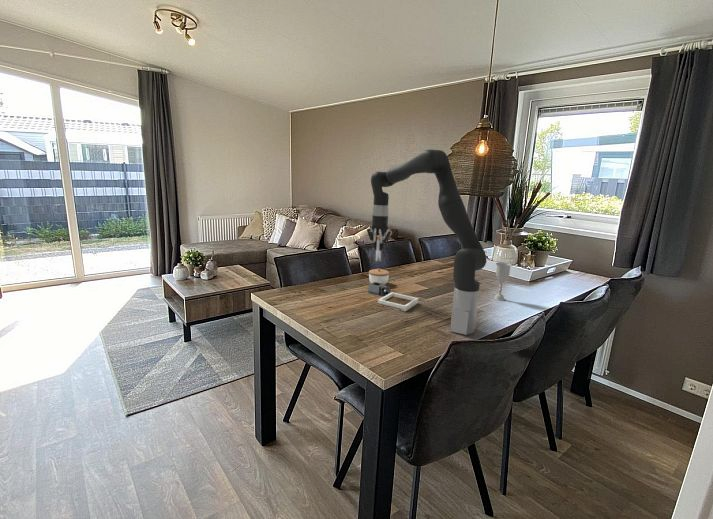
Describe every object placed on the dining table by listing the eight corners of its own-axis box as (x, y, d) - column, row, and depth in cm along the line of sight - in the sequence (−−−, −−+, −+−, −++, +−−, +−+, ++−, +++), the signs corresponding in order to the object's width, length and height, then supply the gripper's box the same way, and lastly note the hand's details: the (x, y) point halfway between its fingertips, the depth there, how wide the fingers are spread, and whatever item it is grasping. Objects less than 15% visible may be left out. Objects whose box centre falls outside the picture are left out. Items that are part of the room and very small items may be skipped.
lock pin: (379, 261, 184) (380, 235, 181) (373, 260, 186) (374, 234, 183) (382, 260, 187) (383, 234, 184) (376, 259, 188) (377, 234, 185)
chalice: (506, 297, 191) (511, 263, 187) (507, 302, 185) (512, 266, 181) (491, 296, 193) (495, 261, 189) (491, 300, 187) (496, 265, 183)
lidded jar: (366, 287, 200) (367, 270, 198) (370, 281, 210) (371, 265, 208) (386, 289, 198) (387, 272, 196) (389, 283, 208) (390, 267, 206)
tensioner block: (386, 299, 182) (386, 289, 181) (364, 294, 188) (365, 284, 187) (394, 294, 190) (395, 285, 189) (373, 289, 196) (374, 280, 195)
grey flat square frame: (405, 311, 167) (405, 306, 167) (377, 305, 174) (377, 299, 174) (417, 303, 179) (418, 298, 178) (391, 297, 186) (391, 292, 185)
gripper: (363, 213, 181) (362, 249, 185) (389, 216, 174) (387, 253, 178) (371, 212, 188) (370, 246, 192) (396, 215, 180) (394, 250, 184)
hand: (378, 249), depth 185 cm, fingers closed on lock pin, 2 cm apart
